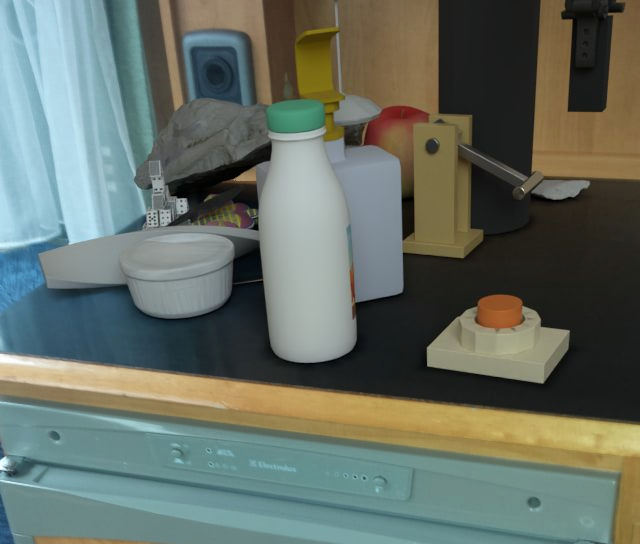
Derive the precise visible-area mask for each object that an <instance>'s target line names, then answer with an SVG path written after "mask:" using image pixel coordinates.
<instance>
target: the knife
mask: <svg viewBox="0 0 640 544" xmlns="http://www.w3.org/2000/svg"><path fill="white" fill-rule="evenodd" d="M259 281H263V275H261V276H255V277H251V278H244V279H240V280H235V281H232V286H233V285H239V284H240V285H241V284H247V283H252V282H259Z"/></svg>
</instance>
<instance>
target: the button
mask: <svg viewBox="0 0 640 544" xmlns="http://www.w3.org/2000/svg"><path fill="white" fill-rule="evenodd" d="M477 306H478V313H477V323H478V325H481V326H483V327H487V328H495V329H503V328H512V327H515V326H518V325H521V322H522V306H523V301H522V299H521V298H519V297H517V296H514V295H510V294H491V295H487V296H484V297H482V298H480V299H479V300H478V301H477Z"/></svg>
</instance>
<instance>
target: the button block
mask: <svg viewBox="0 0 640 544" xmlns="http://www.w3.org/2000/svg"><path fill="white" fill-rule="evenodd" d="M477 313H478V305H477V306H475V307H474V306H473V307H471V308H469V309H466V310H465V311H464V312H463V313H462V314H461V315H460V316H457V317H455V319H454V320H453V321H452V322H451V323H449V325H448V326H447V327H446V328H445V329H444V330H443V331H442V332H441V333H440V334H439V335H438V336H437V337H436V338H435V339H434V340H433V341H432V342H431V343H430V344H429V345H428V346H427V347H426V366H427V367H429V368H436V369H442V370H448V371H449V370H450V371H456V372H461V373H469V374H474V375H475V374H477V375H483V376H489V377H495V378H496V377H497V378H503V379H510V380H517V381H522V382H530V383H536V384H545V382H546V381H547V379H548V378H549V376H550V375H551V374H552V372H553V371H554V369H555V368H556V367H557V366H558V364H559V362H561V360H562V358H563V357H564V356H565V354H566V353H567V352H568V350H569V345H570V344H569V343H570V334H571V333H570V332H571V331H570V330H568V329H561V328H553V327H552V328H551V327H545V326H541V324H542V319H541V317H540V315H539V313H538V311H536V310H534V309H532V308H529V307H527V306H525V305H522V322H521V325H518V326H515V327H512V328H503V329H495V328H487V327H483V326H481V325H478V323H477Z"/></svg>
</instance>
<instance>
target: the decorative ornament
mask: <svg viewBox="0 0 640 544" xmlns="http://www.w3.org/2000/svg"><path fill="white" fill-rule="evenodd" d="M216 195H218V194H216V193H215V194H214V193H210V194H209V195H208V196H207V197H206V198H205V199H204V200H203V202H205V201H207V200H208V199H210V198H212V197H214V196H216ZM258 213H259V209H257V208H250V207H249V206H248V205H247V204H246V203H243V202H235V203H234V202H233V199H232V200H230V201H229V202H228V203H226V204H225V205H223V206H221V207H220V208H218V209H216V210H214V211H211V212H209V213H206V214H203V215H200V216H197V219H196V220H194V221H193V222H191V224H189V226H190V225H203V226H223V227H233V228H242V229H250V230H254V227H255V226H257V224H258ZM177 226H179V225H177Z"/></svg>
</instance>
